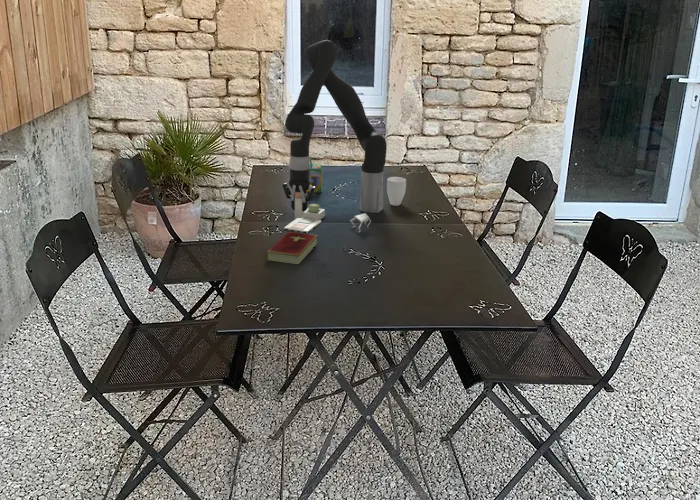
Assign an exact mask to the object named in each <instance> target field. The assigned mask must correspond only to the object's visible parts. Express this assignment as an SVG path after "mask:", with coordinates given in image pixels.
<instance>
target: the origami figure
mask: <svg viewBox="0 0 700 500" xmlns="http://www.w3.org/2000/svg"><path fill="white" fill-rule="evenodd" d="M355 220H358V221H359V223H360V224H359V226H358V230H359V231H358V232H359V233H360V232H361V231H362V230H361V226H362V224H363V223H364V225H366V228H369V225H371V223H372V221H371V218H370V217H369V216H368V214H367V213H366V212H363V213H361V214H358V215H354V216H353V218H351V219H349V222H350V223H351V224H352V225H353V226H352V228H356V227H357V225H355V223H354V221H355ZM367 222H368V224H366V223H367Z"/></svg>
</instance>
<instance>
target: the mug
mask: <svg viewBox="0 0 700 500" xmlns="http://www.w3.org/2000/svg"><path fill="white" fill-rule="evenodd" d="M406 189H407V178H404V177H401V176H389V177H388V178H387V180H386V193H387V197H388V198H387V199H388V200H389V204H390V205H392V206H394V207H395V206H396V207H397V206H401V203H402V200H403V198H404V197H405V194H406Z"/></svg>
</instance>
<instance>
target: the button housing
mask: <svg viewBox="0 0 700 500" xmlns="http://www.w3.org/2000/svg"><path fill="white" fill-rule="evenodd" d="M308 211H309V207H307V210H306V211H304V217H303V218H309V219H316V220H321V221H322V220H323V218H326V217H325V216H326V209H324V208H319V212H318V213H312V212H308Z"/></svg>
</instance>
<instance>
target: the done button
mask: <svg viewBox="0 0 700 500" xmlns="http://www.w3.org/2000/svg"><path fill="white" fill-rule="evenodd" d="M308 208H309V211H308V212H312V213H318V212H319V209H320V204H317V203H310V204H308Z"/></svg>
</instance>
